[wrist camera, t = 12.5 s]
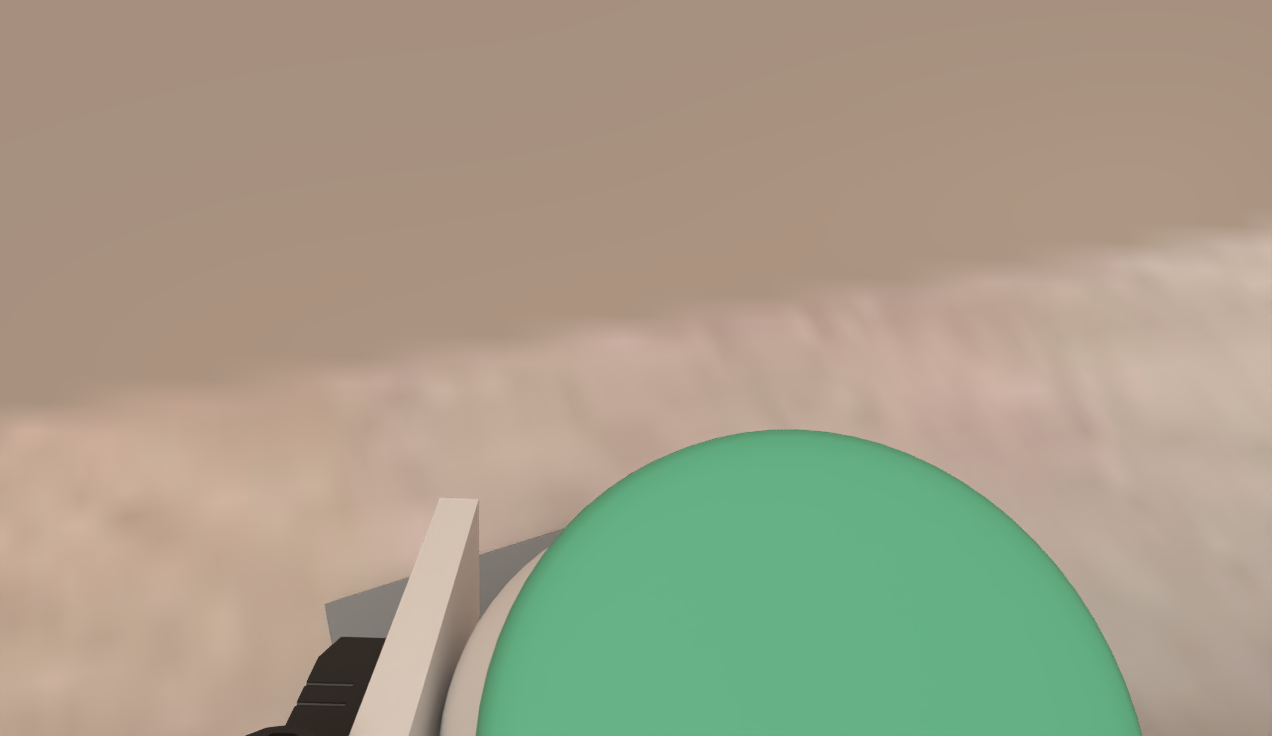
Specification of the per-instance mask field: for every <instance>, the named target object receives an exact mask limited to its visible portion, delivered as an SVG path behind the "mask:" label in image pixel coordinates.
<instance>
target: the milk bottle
mask: <svg viewBox="0 0 1272 736" xmlns="http://www.w3.org/2000/svg"><path fill="white" fill-rule="evenodd" d="M439 736H1142V734H1141V730H1140V726H1139V722H1138V718H1137V715H1136V712H1135V709H1134V706H1133V704H1132V701H1131V698H1130V695H1129V692H1128V689H1127V686H1126V683H1125V681H1124V679H1123V676H1122V674H1121V672H1120V670H1119V667H1118V665H1117V663H1116V660H1115V658H1114V656H1113V654H1112V651H1111V649H1110V648H1109V646H1108V644H1107V642H1106V640H1105V638H1104V636H1103V634H1102V633H1101V631H1100V629H1099V627H1098V625H1097V623H1096V621H1095V620H1094V618H1093V617H1092V615H1091V613H1090V612H1089V610H1088V609H1087V607H1086V606H1085V604H1084V602H1083V601H1082V599H1081V598H1080V596H1079V595H1078V593H1077V592H1076V590H1075V589H1074V588H1073V586H1072V585H1071V584H1070V582H1069V581H1068V580H1067V578H1066V577H1065V576H1064V574H1063V573H1062V572H1061V570H1060V569H1059V568H1058V567H1057V565H1056V564H1055V563H1054V562H1053V561H1052V560H1051V559H1050V557H1049V556H1048V555H1047V554H1046V553H1045V552H1044V551H1043V550H1042V548H1041V547H1040V546H1039V545H1038V544H1037V543H1036V542H1035V541H1034V540H1033V539H1032V538H1031V537H1030V536H1029V535H1028V534H1027V533H1026V532H1025V531H1024V530H1023V529H1022V528H1021V527H1020V526H1019V525H1018V524H1017V523H1016V522H1015V521H1014V520H1013V519H1011V518H1010V517H1009V516H1008V515H1006V514H1005V513H1004V512H1003V511H1002V510H1000V509H999V508H998V507H997V506H995V505H994V504H993V503H992V502H991V501H989V500H988V499H987V498H985V497H984V496H982V495H981V494H979V493H978V492H977V491H975V490H974V489H972V488H971V487H969V486H968V485H966V484H965V483H963V482H962V481H960V480H958V479H957V478H955V477H953V476H951V475H950V474H948V473H946V472H944V471H943V470H941V469H939V468H938V467H936V466H934V465H931V464H929V463H927V462H925V461H923V460H921V459H918V458H916V457H914V456H912V455H910V454H907V453H905V452H902V451H899V450H896V449H894V448H891V447H888V446H885V445H883V444H879V443H875V442H872V441H868V440H864V439H861V438H857V437H853V436H847V435H841V434H835V433H830V432H821V431H809V430H765V431H755V432H746V433H739V434H735V435H730V436H725V437H720V438H715V439H712V440H709V441H705V442H702V443H699V444H696V445H692V446H689V447H686V448H684V449H681V450H679V451H676V452H674V453H672V454H669V455H667V456H664V457H662V458H660V459H657V460H655V461H653V462H651V463H650V464H648V465H646V466H644V467H642V468H640V469H638V470H637V471H635V472H633V473H631V474H629V475H628V476H627V477H625V478H624V479H622V480H621V481H619V482H618V483H616V484H615V485H613V486H612V487H610V488H609V489H607V490H606V491H605V492H604V493H602V494H601V495H600V496H599V497H597V498H596V499H595V500H594V501H593V502H591V503H590V504H589V505H588V506H587V507H585V508H584V509H583V510H582V511H581V512H580V513H579V514H578V515H577V516H576V517H575V518H574V519H573V520H572V521H571V522H570V523H569V524H568V525H567V526H566V527H565V528H564V529H563V530H562V532H561V533H560V534H559V535H558V537H557V538H556V539H555V540H554V541H553V543H552V544H551V545H550V546H549V547H548V548H547V549H545V550H544V551H542V552H541V553H540V554H538V555H537V556H536V557H535V558H534V559H532V560H531V561H530V562H529V563H528V564H526V565H525V566H524V567H523V568H522V569H521V570H520V571H519V572H518V573H517V574H516V575H515V576H514V577H513V578H512V579H511V580H510V581H509V582H508V583H507V584H506V585H505V587H504V588H503V589H502V590H501V592H500V593H499V594H498V595H497V596H496V598H495V599H494V600H493V601H492V603H491V604H490V606H489V607H488V609H487V610H486V611H485V613H484V614H483V616H482V617H481V619H480V620H479V622H478V624H477V625H476V627H475V629H474V631H473V633H472V634H471V636H470V638H469V640H468V642H467V644H466V646H465V648H464V650H463V653H462V655H461V657H460V659H459V662H458V664H457V666H456V669H455V672H454V675H453V678H452V681H451V684H450V687H449V690H448V694H447V698H446V702H445V706H444V710H443V714H442V720H441V727H440V734H439Z"/></svg>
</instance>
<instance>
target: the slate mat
mask: <svg viewBox="0 0 1272 736" xmlns="http://www.w3.org/2000/svg"><path fill="white" fill-rule="evenodd" d="M562 530H563V529H561V530H558V531H555V532H551V533H548V534H545V535H542V536H539V537H536V538H532V539H529V540H526V541H523V542H520V543H517V544H513V545H510V546H507V547H504V548H501V549H498V550H494V551H491V552H488V553H485V554H482V555H479V596H480V614H479V618H478V622H479V620H480V619H481V617H482V616H483V614H484V613H485V611H486V610H487V609H488V607H489V606H490V604H491V603H492V601H493V600H494V599H495V598H496V596H497V595H498V594H499V593H500V592H501V590H502V589H503V588H504V587H505V585H506V584H507V583H508V582H509V581H510V580H511V579H512V578H513V577H514V576H515V575H516V574H517V573H518V572H519V571H520V570H521V569H522V568H523V567H524V566H525V565H526V564H528V563H529V562H530V561H531V560H532V559H534V558H535V557H536V556H537V555H538V554H540V553H541V552H542V551H544V550H545V549H547V548H548V547H549V546H550V545H551V544H552V543H553V541H554V540H555V539H556V538H557V537H558V535H559V534H560V533H561V532H562ZM409 578H410V577H409ZM409 578H406V579H403V580H400V581H397V582H393V583H390V584H387V585H384V586H381V587H378V588H374V589H371V590H368V591H365V592H362V593H359V594H356V595H352V596H349V597H346V598H343V599H340V600H337V601H333V602H330V603H327V604H325V609H326V614H327V620H328V625H329V630H330V636H331V641H332V645H333V644H334V643H335V642H336V641H337V640H338V639H339V638H340V637H369V638H387V635H388V633H389V630H390V627H391V625H392V622H393V620H394V617H395V614H396V612H397V609H398V607H399V604H400V601H401V599H402V596H403V594H404V591H405V588H406V586H407V583H408V580H409ZM478 622H477V624H478Z"/></svg>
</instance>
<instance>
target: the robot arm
mask: <svg viewBox="0 0 1272 736" xmlns="http://www.w3.org/2000/svg"><path fill="white" fill-rule="evenodd" d="M479 614H480V596H479V499H460V498H440V500H439V502H438V505H437V507H436V510H435V513H434V515H433V518H432V520H431V523H430V526H429V528H428V531H427V534H426V536H425V539H424V541H423V544H422V547H421V549H420V552H419V554H418V557H417V560H416V562H415V565H414V567H413V570H412V573H411V575H410V578H409V580H408V583H407V586H406V588H405V591H404V594H403V596H402V599H401V601H400V604H399V607H398V609H397V612H396V614H395V617H394V620H393V622H392V625H391V627H390V630H389V633H388V635H387V638H369V637H340V638H339V639H338V640H337V641H336V642H335V643H334V644H333V645H331V646H330V647H329V648H328V649H327V650H326V651H325V652H324V653H323V654H321V655H320V656H319V657H318V659H317V661H316V663H315V665H314V667H313V669H312V672H311V674H310V676H309V678H308V680H307V684H306V686H304V688H303V690H302V692H301V694H300V696H299V698H298V701H297V706H295V707H294V709H293V711H292V713H291V715H290V717H289V719H288V721H287V723H286V725H285V726H277V727H268V728H265V729H262V730H259V731H257V732H254V733H251V734H249V735H246V736H439V734H440V727H441V720H442V714H443V710H444V706H445V702H446V698H447V694H448V690H449V687H450V684H451V681H452V678H453V675H454V672H455V669H456V666H457V664H458V662H459V659H460V657H461V655H462V653H463V650H464V648H465V646H466V644H467V642H468V640H469V638H470V636H471V634H472V633H473V631H474V629H475V627H476V625H477V622H478V618H479Z"/></svg>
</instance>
